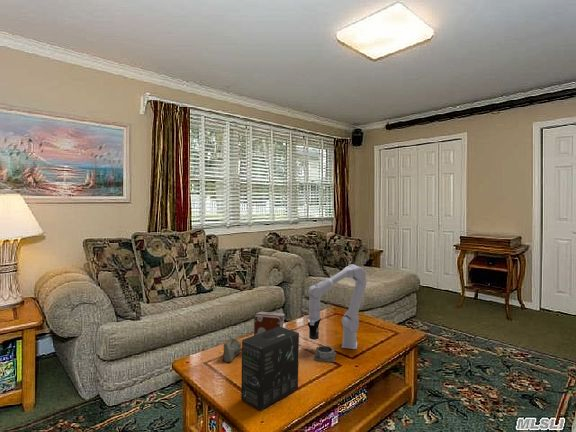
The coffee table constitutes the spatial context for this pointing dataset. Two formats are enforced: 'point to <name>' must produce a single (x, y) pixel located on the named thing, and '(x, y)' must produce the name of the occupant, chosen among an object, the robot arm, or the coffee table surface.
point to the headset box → (269, 366)
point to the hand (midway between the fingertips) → (314, 334)
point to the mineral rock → (231, 349)
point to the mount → (325, 354)
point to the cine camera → (267, 321)
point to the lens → (315, 336)
